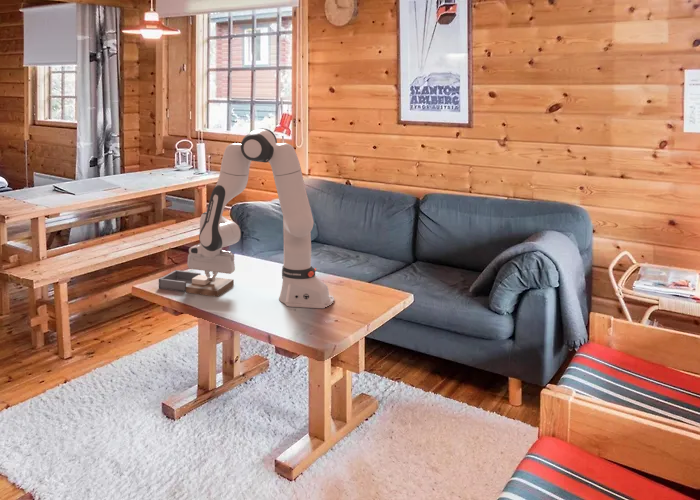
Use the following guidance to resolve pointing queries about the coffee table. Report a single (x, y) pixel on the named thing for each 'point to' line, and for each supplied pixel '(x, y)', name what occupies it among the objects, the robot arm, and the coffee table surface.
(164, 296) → the coffee table surface
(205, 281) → the tile
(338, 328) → the coffee table surface
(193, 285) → the board
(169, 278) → the box
